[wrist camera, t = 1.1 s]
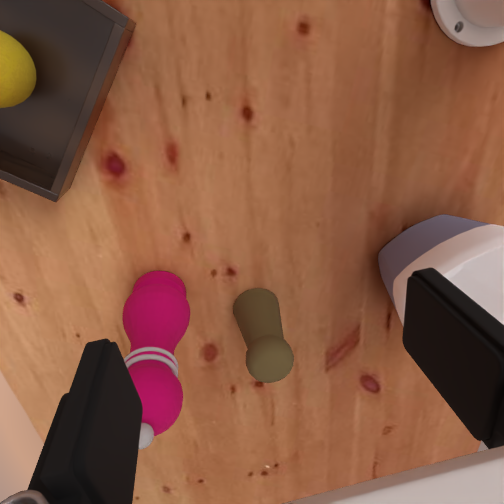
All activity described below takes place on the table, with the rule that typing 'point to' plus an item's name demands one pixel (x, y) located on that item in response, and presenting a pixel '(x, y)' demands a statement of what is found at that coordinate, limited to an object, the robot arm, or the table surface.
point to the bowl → (448, 260)
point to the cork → (263, 335)
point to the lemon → (15, 72)
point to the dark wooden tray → (59, 87)
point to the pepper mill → (156, 348)
